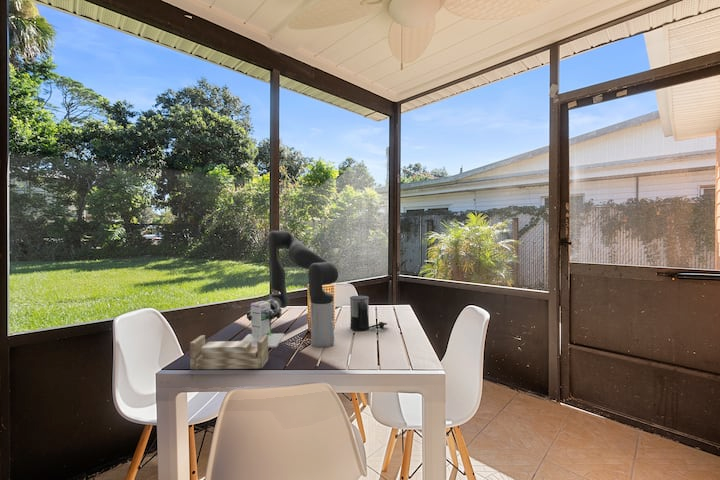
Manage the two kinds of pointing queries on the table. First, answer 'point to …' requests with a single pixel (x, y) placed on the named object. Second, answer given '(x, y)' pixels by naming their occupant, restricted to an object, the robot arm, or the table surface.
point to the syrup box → (260, 319)
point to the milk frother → (361, 313)
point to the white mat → (272, 340)
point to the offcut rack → (228, 354)
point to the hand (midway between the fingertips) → (259, 318)
